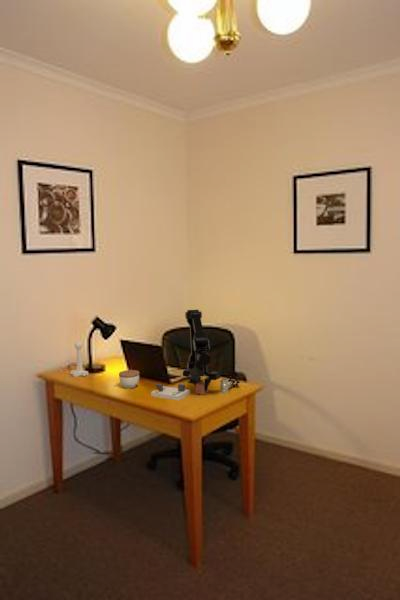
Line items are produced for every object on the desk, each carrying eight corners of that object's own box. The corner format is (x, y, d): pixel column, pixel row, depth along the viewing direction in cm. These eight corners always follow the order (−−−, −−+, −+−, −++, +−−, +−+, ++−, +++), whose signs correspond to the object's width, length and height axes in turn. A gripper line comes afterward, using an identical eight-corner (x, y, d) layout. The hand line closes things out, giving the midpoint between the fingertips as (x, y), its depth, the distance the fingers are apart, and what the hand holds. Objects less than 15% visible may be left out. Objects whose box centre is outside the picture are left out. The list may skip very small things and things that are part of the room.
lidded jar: (115, 388, 246) (114, 370, 245) (128, 382, 255) (127, 366, 254) (131, 391, 241) (130, 373, 240) (143, 385, 250) (143, 368, 249)
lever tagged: (158, 389, 235) (157, 383, 234) (163, 390, 233) (163, 384, 233) (156, 390, 233) (156, 384, 233) (161, 391, 232) (161, 385, 232)
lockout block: (199, 391, 238) (199, 381, 237) (207, 392, 236) (207, 382, 235) (195, 393, 234) (195, 383, 233) (203, 394, 232) (203, 384, 231)
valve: (228, 394, 232) (239, 388, 242) (228, 381, 231) (239, 375, 241) (216, 392, 236) (228, 386, 246) (216, 379, 235) (228, 374, 245)
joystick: (89, 374, 273) (88, 341, 270) (81, 378, 266) (79, 343, 264) (75, 372, 278) (73, 339, 275) (66, 376, 271) (64, 342, 269)
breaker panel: (162, 389, 241) (162, 383, 241) (189, 393, 234) (189, 387, 234) (150, 396, 232) (150, 389, 231) (178, 400, 224) (178, 393, 224)
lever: (179, 389, 234) (179, 383, 234) (184, 390, 233) (184, 384, 232) (178, 390, 233) (177, 384, 232) (183, 391, 231) (183, 385, 231)
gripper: (176, 362, 230) (177, 393, 232) (210, 366, 222) (211, 397, 223) (187, 357, 240) (188, 386, 242) (220, 360, 231) (221, 391, 233)
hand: (201, 390), depth 235 cm, fingers closed on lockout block, 4 cm apart
